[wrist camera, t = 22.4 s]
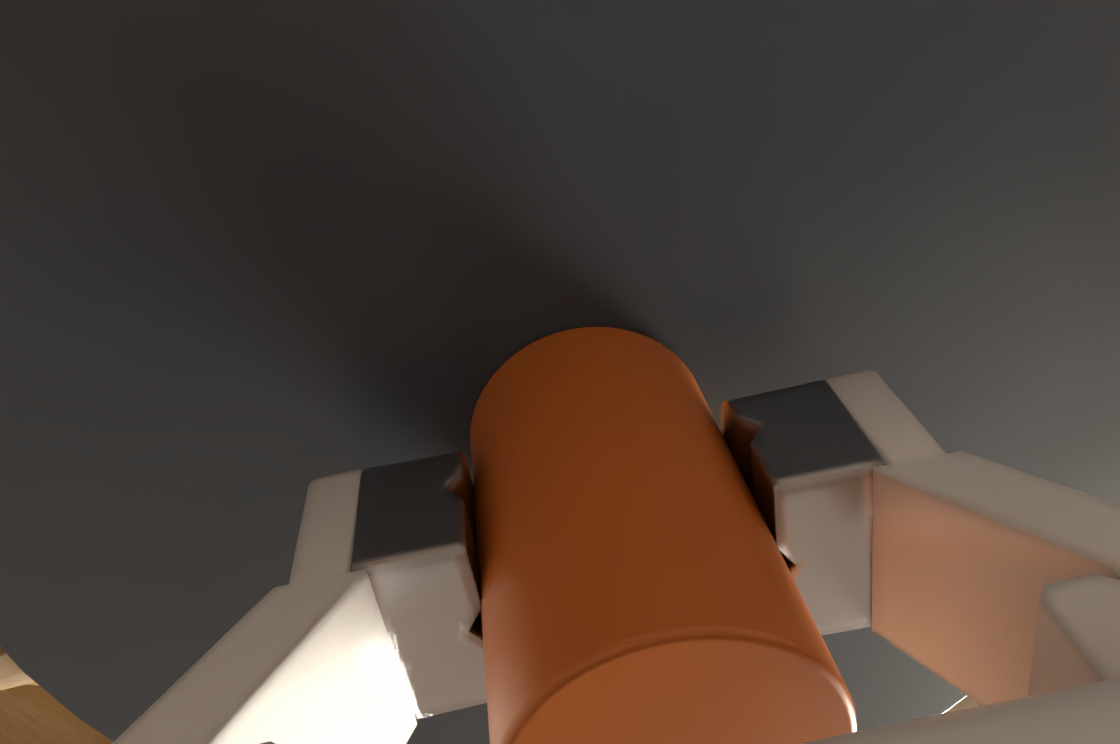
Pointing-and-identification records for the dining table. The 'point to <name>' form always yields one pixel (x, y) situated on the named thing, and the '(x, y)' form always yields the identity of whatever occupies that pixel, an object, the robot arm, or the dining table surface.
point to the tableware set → (37, 713)
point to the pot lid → (530, 318)
